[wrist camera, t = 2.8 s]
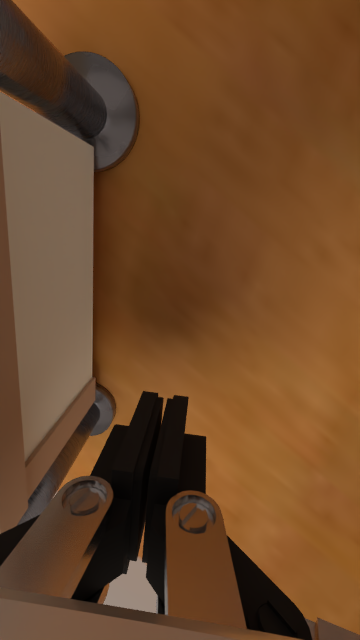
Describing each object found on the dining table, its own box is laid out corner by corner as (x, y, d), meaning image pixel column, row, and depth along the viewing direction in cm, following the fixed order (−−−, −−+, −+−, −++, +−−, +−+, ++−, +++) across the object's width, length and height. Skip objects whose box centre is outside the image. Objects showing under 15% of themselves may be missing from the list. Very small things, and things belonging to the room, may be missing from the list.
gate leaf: (62, 144, 16) (-142, 44, 7) (101, 147, 15) (-54, 49, 7) (67, 396, 20) (-53, 537, 11) (98, 400, 20) (2, 547, 11)
